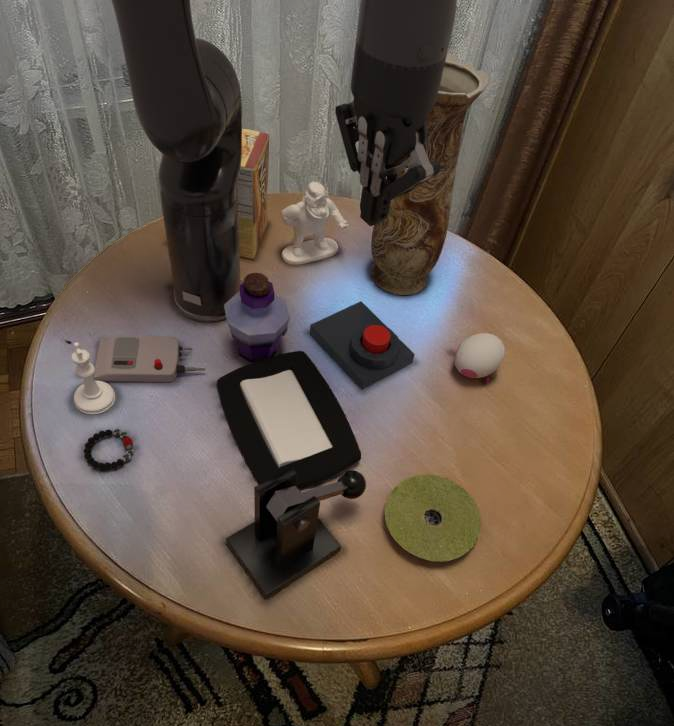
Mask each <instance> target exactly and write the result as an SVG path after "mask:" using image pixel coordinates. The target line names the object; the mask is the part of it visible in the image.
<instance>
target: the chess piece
mask: <svg viewBox="0 0 674 726" xmlns="http://www.w3.org/2000/svg"><path fill="white" fill-rule="evenodd" d="M73 345H74V347H75V351H73V352H72V354H71V360H72V362H73V363H74V364H75V365H76V367H75V374H76V375H77V376H78V377H80V378H82V380H83V384H81V385H80V386H78V388H77V389H76V390H75V392H74V395H73V403H74V406H75V407H76V409H77V410H78V411H80V412H81V413H83V414H86V415H99V414H103V413H105V412H107V411H108V410H110V409H111V408H112V407H113V405H114V404H115V402H116V393H115V389H114V388H113V387H112V386H111V384H109V383H108V382H106V381H95V379H94V371H95V365H93V364H92V363H91V362H90V359H91V354H90V352H89V351H88V350H87V349H81V347H80V344H79V342H78V341H77V342H73Z"/></svg>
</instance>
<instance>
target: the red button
mask: <svg viewBox="0 0 674 726" xmlns="http://www.w3.org/2000/svg"><path fill="white" fill-rule="evenodd" d="M390 337H391V336H390V333H389V331H388V330H387V329H386V328H385V327H383V326H380V325H371V326H369V327H367V328H366V329H365V330H364V333H363V339H362V346H363V347H364V349H365V350H366V351H368V352H370V353H373V354H380V353H383V352H385V351H386V350H387V349H388V346H389V342H390Z"/></svg>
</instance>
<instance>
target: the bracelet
mask: <svg viewBox="0 0 674 726" xmlns="http://www.w3.org/2000/svg"><path fill="white" fill-rule="evenodd" d="M112 435H114V436H115V437H117V436H119V437H120V438H121V439H122V445H123V446H124V448H126V450H125V454H123V456H122V458H117V460H116V461H112V462H108V461H107V462H105V463H103V462H99V461H98V460H96V459H95V458H94V457H93V454H92V452H93V451H92V448H93V445H94V444H96V442H98V441H101V439H103V438H105V437H111V436H112ZM133 446H134V442H133V440H132V437H129V434H128V432H126V431H122V429H119V428H115V429H110V428H108V429H105V430H99V432H98V433H97V432H96V433H94V434H93V435H92V436H90V437H88V439H87V442H86V443H84V449H83V453H84V456H83V457H84V459H85V460H86V463H87V464H88V465H91V467H92V468H93V469H97V470H99V471H104V470H106V471H108V470H111V469H113V470H115V469H118V467H123V466H124V465H125V463H126V462H129V461H130V460H131V457H132V456H131V455H132V454H134V451H135V450H134V448H133Z"/></svg>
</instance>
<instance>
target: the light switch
mask: <svg viewBox="0 0 674 726" xmlns="http://www.w3.org/2000/svg"><path fill="white" fill-rule="evenodd" d="M216 389H217V394H218V398H219V401H220V404H221V407H222V410H223V414H224V417H225V419H226V422H227V425H228V427H229V429H230V433H231V434H232V437H233V440H234V441H235V443H236V446H237V448H238V450H239V453H240V454H241V456H242V458H243V460H244V461H245V464H246V465H247V467H248V469H249V470H250V473H251V474H252V476H253V478H254V479H255V481H256V482H257V484H258V485H259V484H261V483H263V482H265V481H266V480H268V479H270V478H272V477H274V476H275V475H277V474H279V473H281V472H282V471H284V470H286V469H288V468H289V467H292V468H293V469H294V470H295V472H296V473H297V477H296V487H297V488H298V490H299V491H300V490H302V489H305V488H309V487H311V486H315V485H317V484H321V483H322V482H324V481H326V480H328V479H332V478H333V477H334V476H337V475H339V474H342V473H343V472H345V471H347V470H348V469H349V468H351V467H353V466H354V465H356V464H357V463H358V462H359V463H360V461H361V460H362V452H361V449H360V446H359V443H358V441H357V439H356V436H355V433H354V431H353V428H352V426H351V424H350V422H349V420H348V417H347V416H346V413H345V412H344V410H343V408H342V406H341V404H340V402H339V400H338V398H337V397H336V395H335V393H334V392H333V390H332V389H331V387H330V385H329V383H328V382H327V380H326V379H325V377H324V376H323V374H322V373H321V371H320V370H319V369H318V367H317V366H316V365H315V363H314V362H313V361H312V359H311V358H310V357H309V356H308V354H307V353H306V352H305V351H303V350H296V351H290V352H285V353H279V354H275V355H274V356H271V357H267V358H264V359H260V360H257V361H255V362H252V363H251V362H249V363H247V364H244V365H243V366H240V367H238V368H235V369H234V370H232V371H230V372H227V373H226V374H224V375H222V376H220V377H219V378H218V379H217V380H216Z"/></svg>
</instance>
